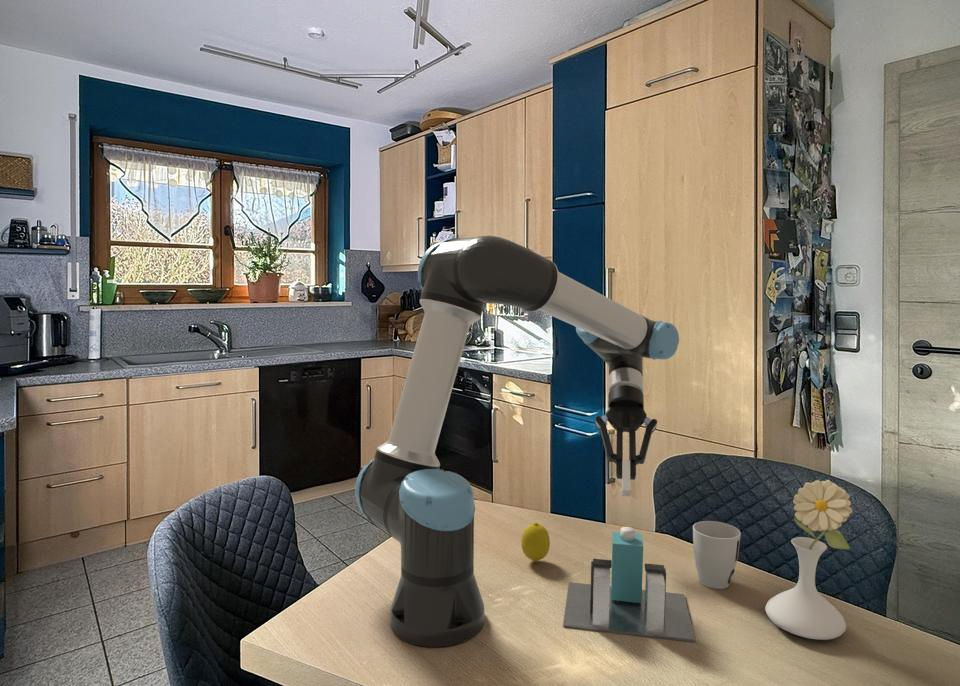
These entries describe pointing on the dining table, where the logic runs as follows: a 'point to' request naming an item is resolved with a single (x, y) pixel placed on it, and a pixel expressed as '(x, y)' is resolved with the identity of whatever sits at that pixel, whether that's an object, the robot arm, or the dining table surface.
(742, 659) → the dining table surface
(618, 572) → the teal post
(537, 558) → the lemon
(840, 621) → the flower in vase
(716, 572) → the cup
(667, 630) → the steel clamp
